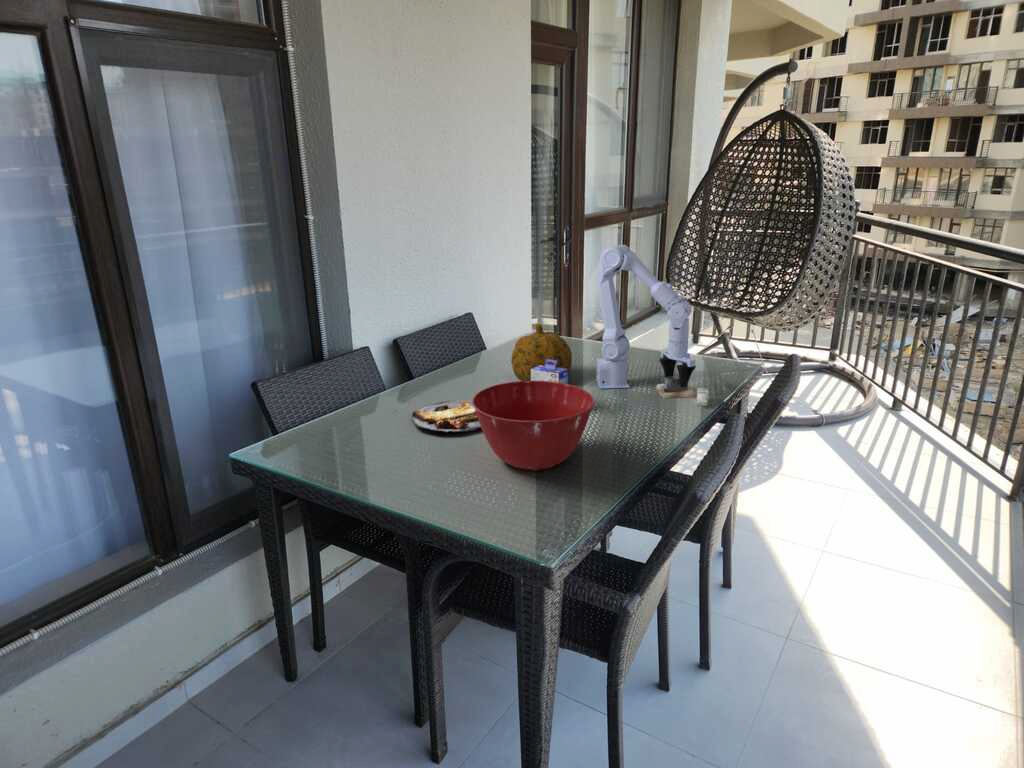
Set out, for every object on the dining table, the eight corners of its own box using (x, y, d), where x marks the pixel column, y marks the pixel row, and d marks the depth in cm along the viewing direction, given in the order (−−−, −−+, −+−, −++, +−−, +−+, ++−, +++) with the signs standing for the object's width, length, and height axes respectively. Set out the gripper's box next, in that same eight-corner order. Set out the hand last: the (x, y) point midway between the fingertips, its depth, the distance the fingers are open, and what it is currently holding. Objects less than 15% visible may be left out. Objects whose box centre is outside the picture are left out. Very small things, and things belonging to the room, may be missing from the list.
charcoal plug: (683, 386, 201) (684, 374, 200) (690, 389, 198) (690, 376, 197) (655, 391, 197) (656, 378, 196) (661, 394, 195) (662, 381, 193)
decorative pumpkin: (587, 375, 215) (582, 317, 208) (546, 396, 201) (540, 335, 195) (542, 367, 229) (536, 313, 222) (501, 386, 215) (493, 329, 208)
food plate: (432, 443, 165) (431, 430, 164) (399, 418, 184) (398, 406, 183) (515, 425, 177) (515, 413, 176) (476, 403, 196) (475, 392, 195)
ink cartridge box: (569, 408, 187) (569, 360, 183) (559, 414, 183) (558, 365, 179) (540, 403, 193) (539, 356, 188) (530, 408, 189) (529, 360, 184)
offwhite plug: (696, 398, 193) (696, 387, 192) (706, 399, 192) (707, 387, 191) (697, 408, 185) (698, 396, 183) (708, 409, 184) (709, 397, 183)
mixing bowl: (613, 450, 158) (614, 390, 153) (554, 496, 136) (553, 428, 131) (518, 428, 173) (516, 374, 169) (450, 467, 151) (447, 405, 146)
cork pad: (663, 398, 194) (664, 395, 193) (655, 388, 203) (655, 385, 203) (696, 397, 194) (696, 394, 194) (686, 387, 203) (687, 384, 203)
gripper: (704, 344, 188) (701, 388, 193) (675, 334, 201) (672, 375, 205) (684, 347, 186) (682, 391, 190) (655, 336, 199) (654, 378, 203)
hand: (676, 383), depth 198 cm, fingers open, 7 cm apart
